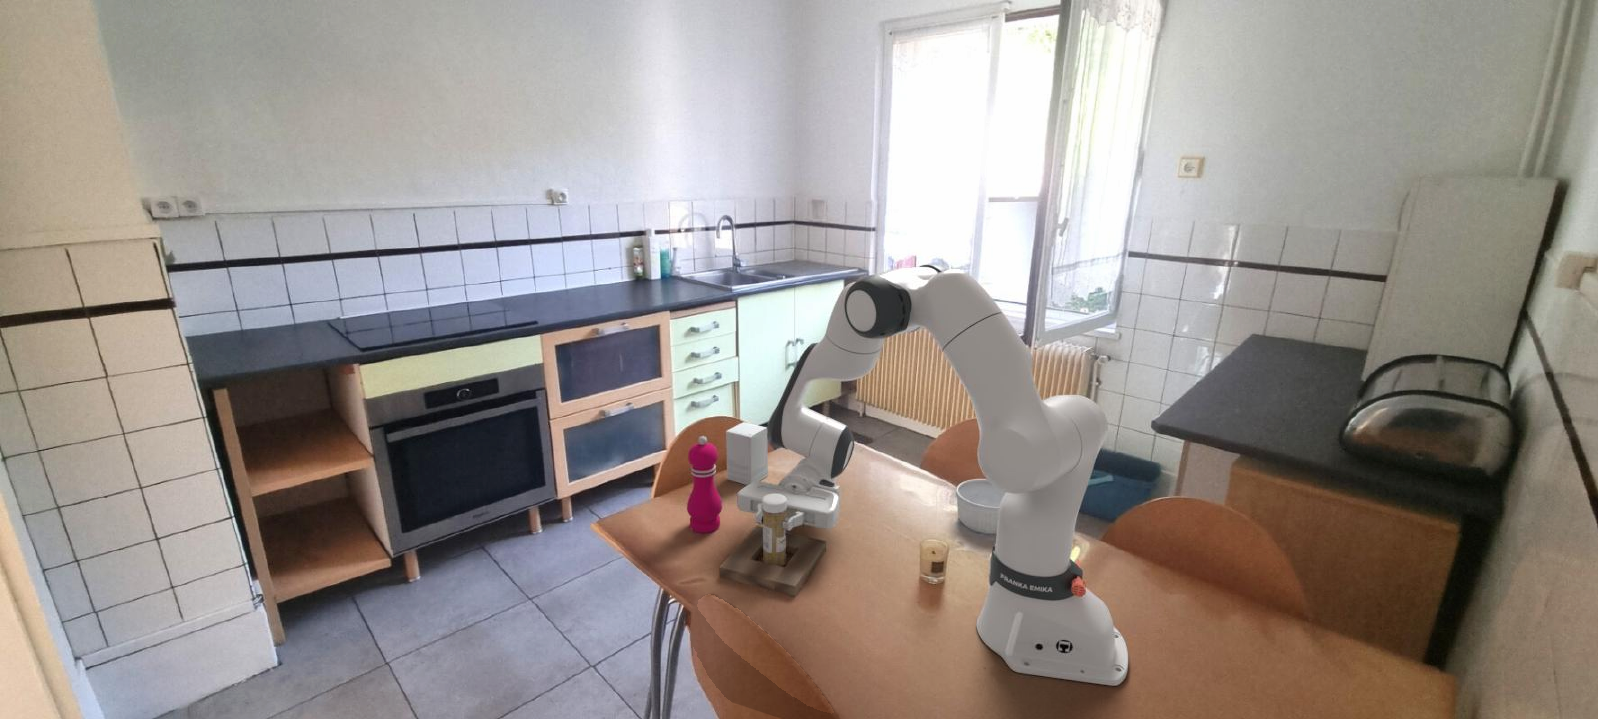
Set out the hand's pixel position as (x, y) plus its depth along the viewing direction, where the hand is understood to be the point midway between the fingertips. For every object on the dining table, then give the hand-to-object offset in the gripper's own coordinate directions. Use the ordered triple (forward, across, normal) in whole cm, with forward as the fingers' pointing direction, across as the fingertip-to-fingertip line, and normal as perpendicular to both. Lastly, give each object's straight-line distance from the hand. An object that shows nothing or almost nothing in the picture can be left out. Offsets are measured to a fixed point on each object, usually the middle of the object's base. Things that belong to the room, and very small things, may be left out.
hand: (772, 523), depth 123 cm
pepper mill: (-8, -19, +9) cm, 22 cm away
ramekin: (-33, +35, +9) cm, 49 cm away
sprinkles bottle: (-1, 0, +9) cm, 9 cm away
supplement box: (-32, -21, +9) cm, 39 cm away
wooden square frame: (-1, 0, +9) cm, 9 cm away
